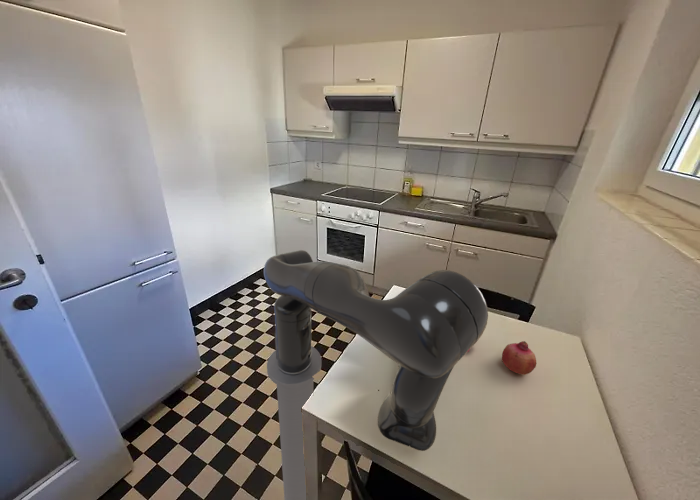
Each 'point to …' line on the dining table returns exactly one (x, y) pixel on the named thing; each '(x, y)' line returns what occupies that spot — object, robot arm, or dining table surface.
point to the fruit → (519, 358)
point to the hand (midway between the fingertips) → (422, 320)
